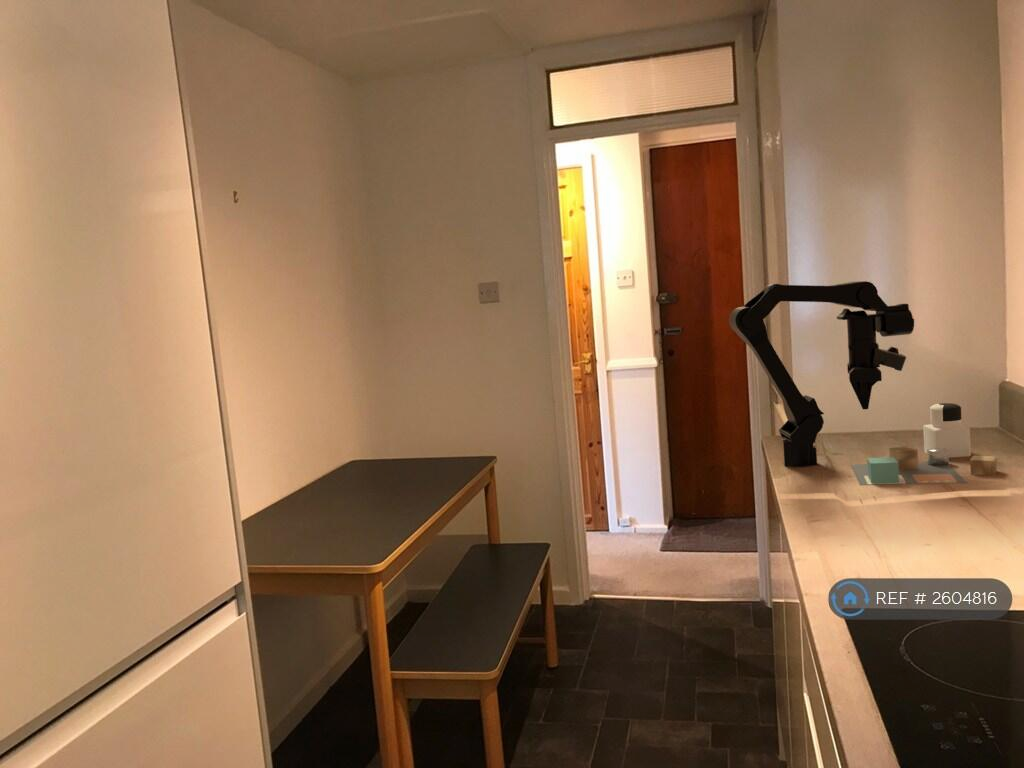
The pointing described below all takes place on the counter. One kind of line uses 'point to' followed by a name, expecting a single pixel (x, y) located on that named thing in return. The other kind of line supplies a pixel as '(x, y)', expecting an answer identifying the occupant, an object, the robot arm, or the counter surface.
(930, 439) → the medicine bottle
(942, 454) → the metal tin
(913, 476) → the board
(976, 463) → the oak cube
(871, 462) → the green cube
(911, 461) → the oak cube
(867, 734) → the counter surface
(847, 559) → the counter surface
